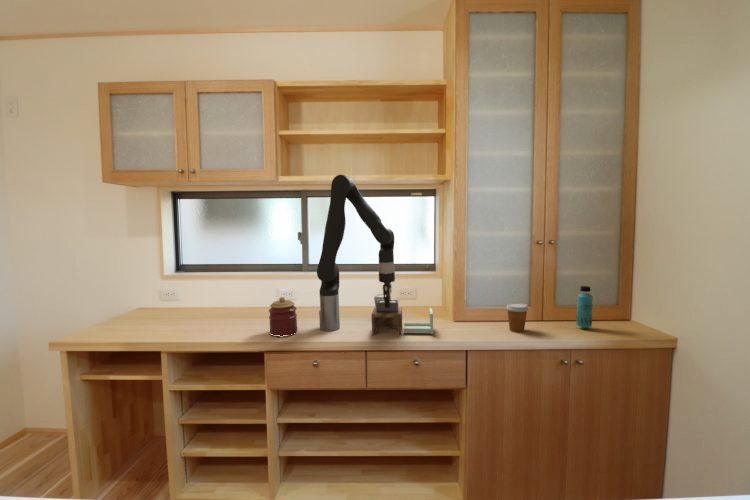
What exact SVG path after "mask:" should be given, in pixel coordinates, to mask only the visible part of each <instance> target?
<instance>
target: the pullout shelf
mask: <svg viewBox="0 0 750 500" xmlns="http://www.w3.org/2000/svg"><path fill="white" fill-rule="evenodd" d="M428 309H429V322H404V323H403V334H431V335H433V334H434V312H433V308H432V307H429V308H428Z"/></svg>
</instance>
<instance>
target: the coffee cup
mask: <svg viewBox="0 0 750 500" xmlns="http://www.w3.org/2000/svg"><path fill="white" fill-rule="evenodd" d="M383 297H384V295H383V293H381V294H375V295H374V297H373V300H374V308H376V303H377V300H384V299H383ZM385 297H386V296H385Z"/></svg>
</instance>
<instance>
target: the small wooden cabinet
mask: <svg viewBox="0 0 750 500" xmlns="http://www.w3.org/2000/svg"><path fill="white" fill-rule="evenodd" d="M398 308H399V309H398V312H377V309H376V307H374V308H373V310H372V313H371V335H372V336H375V335H376V333H377V330H378V329H398V336H400V337H401V336H402V329H403V307H398Z"/></svg>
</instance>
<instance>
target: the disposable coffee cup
mask: <svg viewBox="0 0 750 500" xmlns="http://www.w3.org/2000/svg"><path fill="white" fill-rule="evenodd" d="M505 307H506V310H507V317H508V324H509V331H511V332H514V333H523V332H525V326H526V321H527V313H528V310H529V307H528V304H525V303H519V302H511V303H510V302H509V303H507V305H506V306H505Z"/></svg>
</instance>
